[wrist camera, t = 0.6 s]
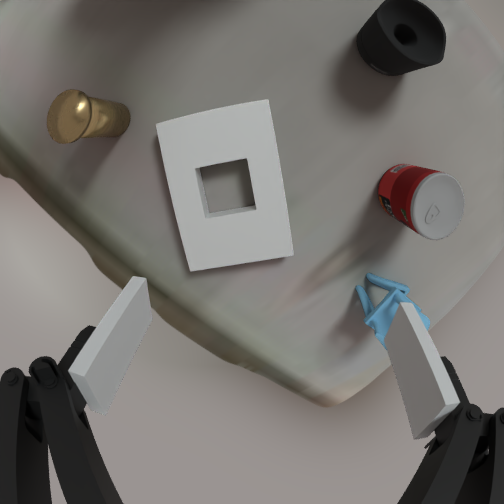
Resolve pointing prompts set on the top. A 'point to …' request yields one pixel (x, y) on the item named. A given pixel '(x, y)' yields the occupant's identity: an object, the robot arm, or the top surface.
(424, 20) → the pen holder
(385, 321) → the chair
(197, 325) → the top surface
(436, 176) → the canned food
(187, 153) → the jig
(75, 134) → the brass ball knob
